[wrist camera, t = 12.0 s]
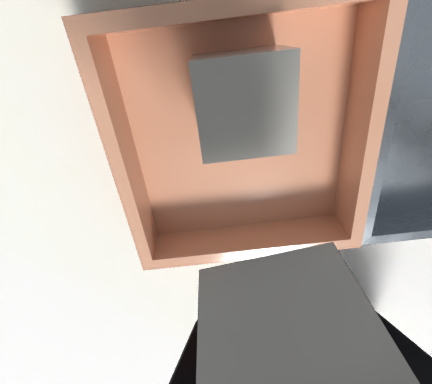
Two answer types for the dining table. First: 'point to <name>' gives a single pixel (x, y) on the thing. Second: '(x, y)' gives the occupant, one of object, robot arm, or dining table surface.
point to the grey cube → (292, 324)
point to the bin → (406, 140)
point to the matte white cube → (246, 102)
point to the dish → (249, 168)
